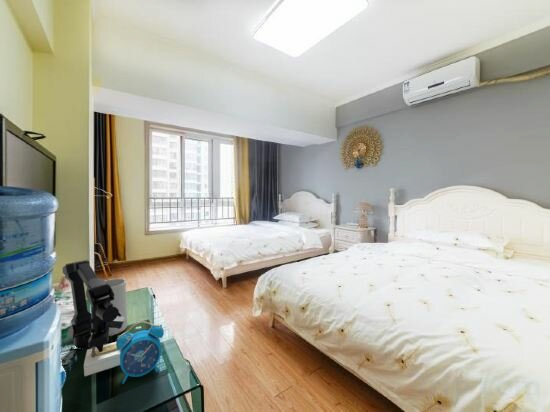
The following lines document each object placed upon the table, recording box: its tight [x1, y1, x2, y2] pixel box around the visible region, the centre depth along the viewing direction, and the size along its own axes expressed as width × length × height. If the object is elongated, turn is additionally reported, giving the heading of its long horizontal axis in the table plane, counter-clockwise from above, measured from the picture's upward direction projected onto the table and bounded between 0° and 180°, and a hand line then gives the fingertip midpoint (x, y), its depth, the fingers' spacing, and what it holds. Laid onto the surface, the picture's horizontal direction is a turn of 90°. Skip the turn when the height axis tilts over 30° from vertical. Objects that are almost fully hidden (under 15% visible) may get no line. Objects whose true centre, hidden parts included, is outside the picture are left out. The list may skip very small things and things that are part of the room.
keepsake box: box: [83, 341, 121, 377], centre depth 102 cm, size 15×10×7 cm
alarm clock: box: [115, 321, 165, 385], centre depth 96 cm, size 17×10×20 cm, turn 120°
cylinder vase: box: [103, 278, 128, 337], centre depth 125 cm, size 12×12×25 cm
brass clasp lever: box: [96, 344, 117, 355], centre depth 103 cm, size 10×3×1 cm, turn 122°
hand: (100, 350), depth 101 cm, fingers closed, pressing on brass clasp lever
